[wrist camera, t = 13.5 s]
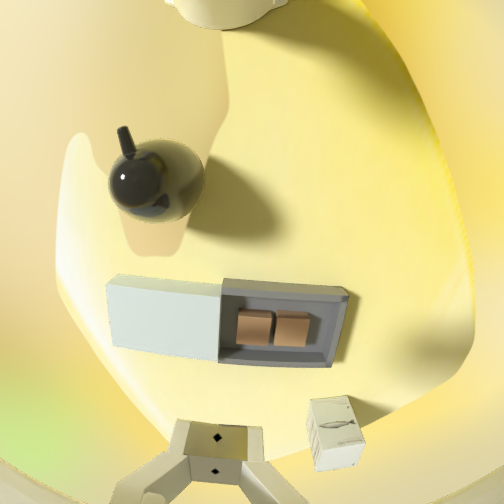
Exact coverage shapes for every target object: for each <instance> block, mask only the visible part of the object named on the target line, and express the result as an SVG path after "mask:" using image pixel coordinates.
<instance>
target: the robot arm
mask: <svg viewBox="0 0 504 504" xmlns="http://www.w3.org/2000/svg"><path fill="white" fill-rule="evenodd" d="M164 1H165V3H166V4H168V5H170V6H172V7H174V8H176V9H177V10H178V11H179V12H180V14H181V15H182V16H183V17H184V18H185V19H186V20H187V21H188V22H190V23H192V24H194V25H196V26H199V27H202V28H207V29H214V30H224V29H233V28H238V27H242V26H245V25H248V24H250V23H252V22H254V21H256V20H258V19H259V18H261V17H262V16H263V15H264V14H266V13H267V12H268V11H270V10H271V9H274V8H277V7H280V6H283V5H285V4H287V2H288V0H164ZM191 481H198V482H209V483H219V484H230V485H239V487H240V488H241V489H242V491H243V492H244V494H245V495H246V497H247V498H248V499H249V501H250V502H251V503H252V504H309V502H308V501H307V500H306V499H305V498H304V497H303V496H302V495H301V494H300V493H299V492H298V491H297V490H296V489H295V488H294V487H293V486H291V484H290V483H288V481H287V480H286V479H285V478H284V477H283V476H282V475H281V474H280V473H279V472H278V471H277V470H276V469H275V468H274V467H273V466H272V465H271V464H270V463H269V462H268V461H264V447H263V429H262V427H257V426H239V425H223V424H210V423H203V422H196V421H189V420H183V419H177V420H176V422H175V425H174V429H173V432H172V436H171V440H170V444H169V448H168V451H167V452H164V451H163V452H162V453H160V454H159V455H157V456H156V457H155V458H153V459H152V460H150V461H149V462H147V463H146V464H144V465H143V466H142V467H140V468H139V469H137V470H136V471H134V472H133V473H131V474H130V475H128V476H127V477H125V478H124V479H122V480H120V481H119V482H117V484H116V487H115V490H114V492H113V495H112V498H111V501H110V503H109V504H169V503H170V502H171V501H172V500H173V499H174V498H175V497H176V496H178V495H179V494H180V493H181V492H182V491H183V490H184V489H185V488H186V487H187V486H188V485H189V484H190V483H191ZM0 504H87V503H84V502H81V501H79V500H77V499H74V498H72V497H70V496H68V495H65V494H63V493H61V492H59V491H57V490H55V489H53V488H51V487H49V486H47V485H45V484H43V483H41V482H39V481H37V480H36V479H34V478H32V477H30V476H28V475H27V474H25V473H23V472H22V471H20V470H18V469H17V468H15V467H14V466H12V465H10V464H9V463H7V462H6V461H4V460H3V459H1V458H0ZM429 504H504V466H502V467H499V468H498V469H496V470H495V471H493V472H491V473H490V474H488V475H486V476H484V477H483V478H481V479H479V480H478V481H476V482H474V483H472V484H470V485H468V486H466V487H464V488H462V489H460V490H458V491H456V492H454V493H452V494H450V495H447V496H445V497H443V498H441V499H438V500H436V501H433V502H431V503H429Z"/></svg>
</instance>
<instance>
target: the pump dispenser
mask: <svg viewBox="0 0 504 504" xmlns="http://www.w3.org/2000/svg"><path fill="white" fill-rule="evenodd" d="M117 134H118V137H119V142H120V146H121V150H122V154H121V155H120V156H119V157H118V158H117V160H116V161H115V162H114V164H113V166H112V168H111V170H110V173H109V177H108V189H109V193H110V196H111V198H112V200H113V202H114V203H115V205H116V206H117V207H118V208H119V209H120V210H121V211H122V212H124V213H125V214H127V215H128V216H130V217H132V218H134V219H136V220H138V221H142V222H146V223H154V224H160V223H169V222H173V221H176V220H178V219H180V218H182V217H184V216H186V215H187V214H188V213H190V212H191V211H192V210H193V209H194V208H195V206H196V205H197V204H198V202H199V200H200V198H201V196H202V194H203V190H204V185H205V173H204V168H203V165H202V163H201V160H200V159H199V157H198V156H197V154H196V153H195V152H194V151H193V150H192V149H191V148H190V147H188V146H187V145H185V144H183V143H181V142H179V141H176V140H173V139H164V138H163V139H162V138H160V139H159V138H157V139H149V140H145V141H142V142H139V143H137V144H134V141H133V139H132V136H131V134H130V131H129V129H128V127H127V126H122V127H120V128H118V129H117Z"/></svg>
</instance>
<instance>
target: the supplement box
mask: <svg viewBox="0 0 504 504" xmlns="http://www.w3.org/2000/svg"><path fill="white" fill-rule="evenodd" d="M306 425H307V430H308V436H309V441H310V446H311V451H312V456H313V461H314V467H315V472H322V471H328V470H335V469H340V468H346V467H351V466H356V465H357V463H358V461H359V459H360V456H361V454H362V451H363V449H364V447H365V444H366V442H365V440H364V437H363V435H362V432H361V429H360V427H359V424H358V422H357V419H356V417H355V414H354V411H353V409H352V406H351V404H350V401H349V399H348V396H347V395H345V396H339V397H332V398H322V399H310V402H309V409H308V416H307V422H306Z"/></svg>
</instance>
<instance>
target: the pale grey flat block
mask: <svg viewBox="0 0 504 504" xmlns="http://www.w3.org/2000/svg"><path fill="white" fill-rule="evenodd" d="M221 289H222V285H220V284H209V283H198V282H188V281H178V280H169V279H159V278H150V277H142V276H133V275H125V274H118V275H116V276H115V277H114V278H112V279H111V280H110V281H109V282H107V283H106V294H107V304H108V313H109V321H110V329H111V336H112V342H113V346H117V347H122V348H127V349H132V350H138V351H144V352H149V353H156V354H162V355H169V356H176V357H183V358H191V359H199V360H208V361H218V355H219V349H220V334H221V314H222V296H223V294H221Z"/></svg>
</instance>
